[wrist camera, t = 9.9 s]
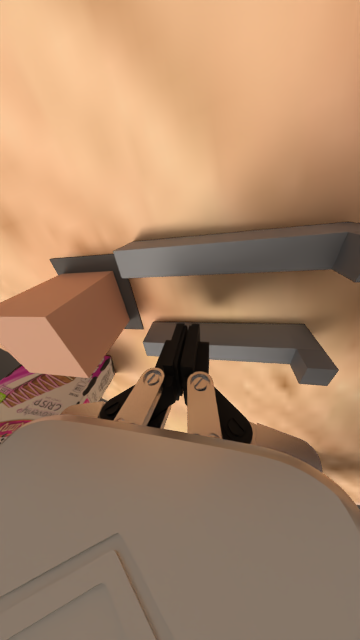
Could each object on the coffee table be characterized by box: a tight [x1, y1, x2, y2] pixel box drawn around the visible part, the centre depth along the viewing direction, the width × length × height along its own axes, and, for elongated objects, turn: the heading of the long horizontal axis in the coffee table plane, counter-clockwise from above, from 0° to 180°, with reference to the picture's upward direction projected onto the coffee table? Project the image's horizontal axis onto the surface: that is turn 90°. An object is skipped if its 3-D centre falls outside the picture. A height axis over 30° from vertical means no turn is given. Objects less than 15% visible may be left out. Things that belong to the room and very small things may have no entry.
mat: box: [50, 254, 143, 329], centre depth 18 cm, size 9×8×1 cm
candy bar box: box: [0, 356, 115, 444], centre depth 20 cm, size 11×5×16 cm, turn 85°
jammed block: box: [0, 271, 130, 378], centre depth 15 cm, size 6×6×8 cm
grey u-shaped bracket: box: [113, 222, 360, 386], centre depth 13 cm, size 11×16×6 cm
